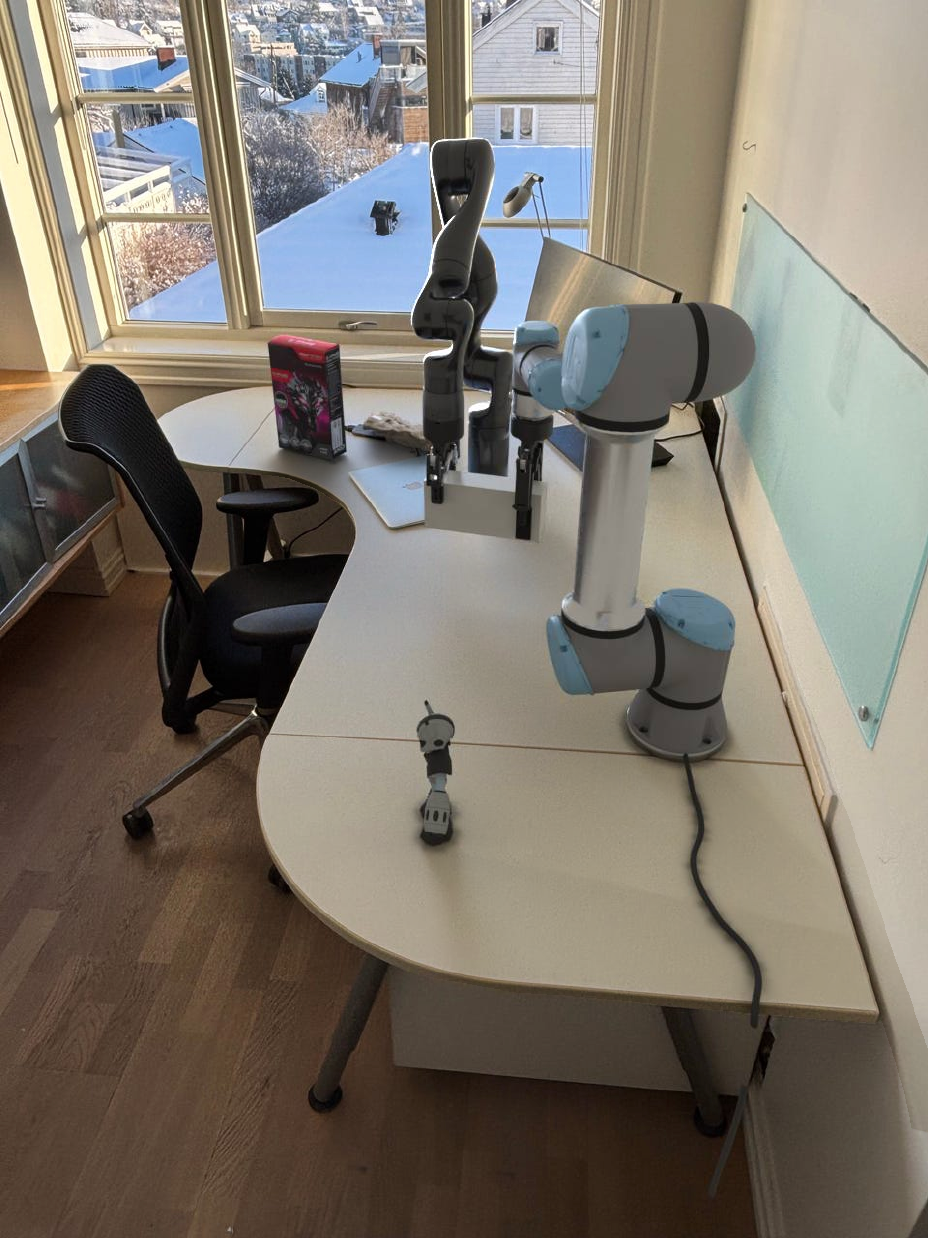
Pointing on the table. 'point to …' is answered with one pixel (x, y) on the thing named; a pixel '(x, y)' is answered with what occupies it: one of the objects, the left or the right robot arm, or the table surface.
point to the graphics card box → (308, 395)
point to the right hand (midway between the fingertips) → (526, 530)
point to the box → (483, 505)
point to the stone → (397, 430)
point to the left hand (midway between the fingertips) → (443, 493)
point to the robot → (436, 775)
